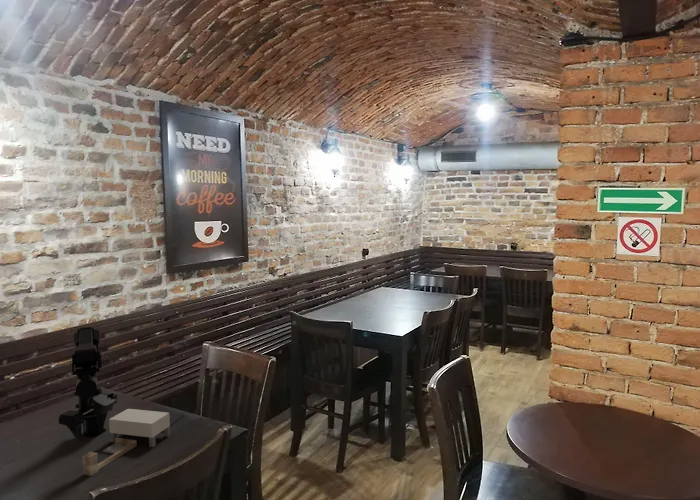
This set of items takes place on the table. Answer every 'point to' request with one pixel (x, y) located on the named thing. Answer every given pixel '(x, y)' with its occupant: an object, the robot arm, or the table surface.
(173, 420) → the bracket
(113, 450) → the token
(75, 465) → the table surface
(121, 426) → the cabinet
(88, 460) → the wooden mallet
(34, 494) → the table surface
